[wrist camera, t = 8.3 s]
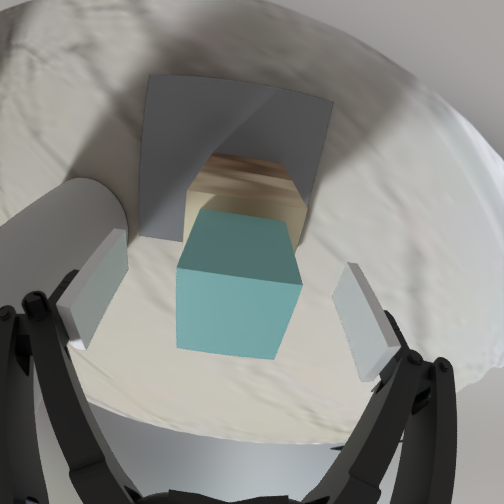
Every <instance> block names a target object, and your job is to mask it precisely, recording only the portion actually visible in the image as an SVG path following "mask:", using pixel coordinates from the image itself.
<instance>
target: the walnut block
mask: <svg viewBox="0 0 504 504" xmlns="http://www.w3.org/2000/svg"><path fill="white" fill-rule="evenodd" d="M204 166H205V167H213V168H220V169H227V170H234V171H240V172H246V173H252V174H258V175H264V176H270V177H275V178H280V179H286V180H291V181H292V179H291V177H290V176H289V174H288V172H287V170H286V168H285V167H284V165H283V164H280V163H274V162H269V161H264V160H258V159H252V158H246V157H240V156H234V155H227V154H220V153H212V154H211V156H210V157H209V158H208V160H207V161H206V163H205V164H204Z"/></svg>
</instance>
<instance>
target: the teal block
mask: <svg viewBox="0 0 504 504" xmlns="http://www.w3.org/2000/svg"><path fill="white" fill-rule="evenodd" d="M302 286H303V284H302V280H301V277H300V273H299V269H298V265H297V262H296V258H295V254H294V251H293V247H292V244H291V240H290V236H289V233H288V229H287V226H286V222H284V221H278V220H272V219H266V218H260V217H254V216H247V215H241V214H235V213H228V212H221V211H215V210H208V209H201V208H200V210H199V213H198V215H197V217H196V220H195V222H194V225H193V227H192V229H191V232H190V234H189V237H188V239H187V242H186V244H185V247H184V250H183V252H182V255H181V257H180V260H179V263H178V265H177V272H176V339H177V348H181V349H187V350H194V351H200V352H207V353H214V354H222V355H230V356H239V357H249V358H260V359H272V360H274V358H275V356H276V353H277V351H278V349H279V346H280V344H281V341H282V339H283V336H284V334H285V331H286V329H287V326H288V324H289V321H290V318H291V316H292V313H293V311H294V308H295V305H296V303H297V300H298V297H299V294H300V292H301V289H302Z"/></svg>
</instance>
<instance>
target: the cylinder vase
mask: <svg viewBox="0 0 504 504" xmlns="http://www.w3.org/2000/svg"><path fill="white" fill-rule="evenodd" d="M114 228H115V229H122V230H126V244H127V240H128V224H127V219H126V215H125V213H124V210H123V208H122V206H121V204H120V202H119V201H118V199H117V198H116V197H115V195H114V194H113V193H112V192H111V191H110V190H109V189H108V188H107V187H105V186H104V185H103V184H101V183H99V182H97V181H95V180H92V179H89V178H74V179H70V180H68V181H66V182H64V183H63V184H61V185H59V186H58V187H56V188H55V189H53V190H51V191H50V192H48V193H47V194H45V195H44V196H42V197H41V198H39V199H38V200H36V201H35V202H33V203H32V204H30V205H29V206H27V207H26V208H25V209H23V210H22V211H20V212H19V213H18V214H16V215H15V216H14V217H12V218H11V219H10V220H8V221H7V222H6V223H5V224H3V225H2V226H1V227H0V308H1V307H2V306H5V305H11V306H13V307H14V309H15V311H16V313H17V314H25V312H24V310H23V308H22V305H21V303H22V299H23V298H24V296H26V295H27V294H28V293H30V292H32V291H37V290H38V291H42V292H44V293H45V294H46V297H47V299H48V298H49V297H50V296H51V294H52V293H53V292H54V290H55V289H56V287H58V285H59V283H60V282H62V280H63V278H64V277H65V276H66V274H68V273H69V272H71V271H72V270H74V269H76V270H81V268H82V267H83V266H84V264H85V263H86V262H87V261H88V259H89V258H90V257H91V256H92V254H93V253H94V252H95V251H96V249H97V248H98V247H99V246H100V244H101V243H102V242H103V241H104V240H105V238H106V237H107V236H108V235H109V234H110V233H111V231H112V230H113V229H114ZM69 341H70V339H69ZM69 341H68V342H69ZM67 344H68V343H67ZM66 346H67V345H66ZM42 397H43V396H42V393H41V389H40V385H39V381H38V377H37V373H36V368H35V363H34V411H35V415H36V412H37V410H38V407H39V405H40V402H41V400H42Z"/></svg>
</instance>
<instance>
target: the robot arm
mask: <svg viewBox="0 0 504 504" xmlns="http://www.w3.org/2000/svg"><path fill="white" fill-rule="evenodd" d="M127 271H128V258H127V244H126V230H122V229H115V228H114V229H113V230H112V231H111V233H110V234H109V235H108V236H107V237H106V238H105V240H104V241H103V242H102V243H101V244H100V246H99V247H98V248H97V249H96V251H95V252H94V253H93V254H92V256H91V257H90V258H89V259H88V261H87V262H86V263H85V264H84V266H83V267H82V268H81V270H76V269H74V270H72V271H71V272H69V273H68V274H66V276H65V277H64V278H63V280H62V282H60V283H59V285H58V287H56V289H55V290H54V292H53V293H52V294H51V296H50V297H49V298H48V299H47V297H46V294H45V293H44V292H42V291H38V290H37V291H32V292H30V293H28V294H27V295H26V296H24V298H23V299H22V303H21V305H22V308H23V310H24V312H25V314H17V313H16V311H15V309H14V307H13V306H11V305H5V306H2V307H1V308H0V504H49V500H48V493H47V489H46V484H45V480H44V475H43V470H42V466H41V460H40V455H39V448H38V442H37V433H36V424H35V411H34V363H35V368H36V373H37V377H38V381H39V385H40V389H41V393H42V396H43V400H44V403H45V406H46V409H47V412H48V415H49V419H50V421H51V424H52V427H53V430H54V432H55V435H56V438H57V440H58V443H59V445H60V447H61V450H62V452H63V454H64V457H65V459H66V461H67V463H68V466H69V469H70V471H69V477H70V480H71V482H72V484H73V486H74V488H75V490H76V492H77V493H78V495H79V497H80V499H81V500H82V502H83V504H377V502H378V500H379V498H380V496H381V490H380V489H379V484H380V482H381V480H382V478H383V477H384V474H385V472H386V470H387V468H388V466H389V464H390V462H391V460H392V458H393V455H394V453H395V451H396V448H397V446H398V443H399V441H400V439H401V436H402V434H403V431H404V437H403V444H402V450H401V457H400V462H399V467H398V472H397V476H396V481H395V485H394V490H393V493H392V497H391V501H390V504H451V501H452V494H453V487H454V479H455V469H456V453H457V409H456V393H455V382H454V373H453V367H452V365H451V363H450V362H449V361H448V360H447V359H445V358H443V357H438V358H437V359H436V360H435V361H434V362H433V363H431V362H427V361H424V360H423V358H422V356H421V355H420V354H419V353H418V352H417V351H414V350H411V349H409V347H408V345H407V343H406V341H405V339H404V337H403V335H402V333H401V331H400V329H399V327H398V325H397V323H396V321H395V319H394V317H393V316H392V315H391V314H390V313H389V312H388V311H387V310H383V309H382V307H381V305H380V303H379V301H378V299H377V297H376V296H375V294H374V292H373V290H372V288H371V286H370V285H369V283H368V281H367V279H366V277H365V276H364V274H363V272H362V270H361V269H360V267H359V265H358V264H356V263H349V262H347V263H346V266H345V268H344V270H343V273H342V275H341V278H340V280H339V282H338V284H337V287H336V289H335V291H334V294H333V296H332V298H333V301H334V304H335V307H336V309H337V312H338V315H339V318H340V320H341V323H342V326H343V329H344V332H345V335H346V338H347V341H348V344H349V347H350V350H351V353H352V356H353V359H354V362H355V365H356V368H357V371H358V374H359V378H360V381H361V382H366V381H374V379H375V378H376V377H377V376H378V375H380V378H381V380H380V382H379V383H378V384H377V385H376V386H375V387H374V388H373V389H372V390H371V392H373V391H374V390H375V391H374V393H373V395H372V397H371V399H370V401H369V403H368V405H367V407H366V409H365V411H364V412H363V414H362V416H361V418H360V420H359V422H358V424H357V425H356V427H355V429H354V431H353V432H352V434H351V436H350V437H349V439H348V441H347V442H346V444H345V446H344V447H343V449H342V450H341V453H340V454H339V455H338V457H337V458H336V460H335V461H334V463H333V464H332V466H331V467H330V469H329V470H328V471H327V473H326V474H325V476H324V477H323V479H322V480H321V481H320V483H319V484H318V485H317V486H316V487H315V488H314V489H313V490H312V491H311V492H309V493H308V494H307V495H306V496H305V498H304V499H303V500H302V501H301V502H299V501H296V500H292V499H288V495H285V496H266V497H256V498H252V499H247V500H242V501H237V502H225V501H221V500H217V499H214V498H211V497H207V496H204V495H201V494H197V493H188V492H182V491H176V490H169V492H163V493H156V494H152V495H149V496H146V497H143V496H142V495H141V493H140V492H139V491H138V490H137V488H136V486H135V485H134V484H133V482H132V481H131V480H130V478H129V477H128V476H127V475H126V474H125V472H124V471H123V469H122V468H121V466H120V464H119V463H118V461H117V459H116V458H115V456H114V454H113V452H112V451H111V449H110V447H109V445H108V443H107V442H106V440H105V438H104V436H103V434H102V432H101V430H100V428H99V426H98V424H97V422H96V420H95V418H94V416H93V413H92V411H91V409H90V407H89V404H88V402H87V400H86V397H85V395H84V393H83V390H82V388H81V385H80V382H79V380H78V377H77V374H76V372H75V369H74V366H73V363H72V360H71V357H70V354H69V350H68V348H67V346H66V345H67V343H68V341H69V339H70V342H71V344H72V346H73V347H75V348H78V349H81V350H84V351H86V350H87V348H88V346H89V344H90V341H91V339H92V337H93V335H94V333H95V331H96V329H97V327H98V325H99V323H100V321H101V319H102V317H103V315H104V313H105V311H106V309H107V307H108V305H109V303H110V302H111V300H112V298H113V296H114V294H115V292H116V290H117V289H118V287H119V285H120V283H121V281H122V280H123V278H124V276H125V274H126V273H127Z"/></svg>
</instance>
